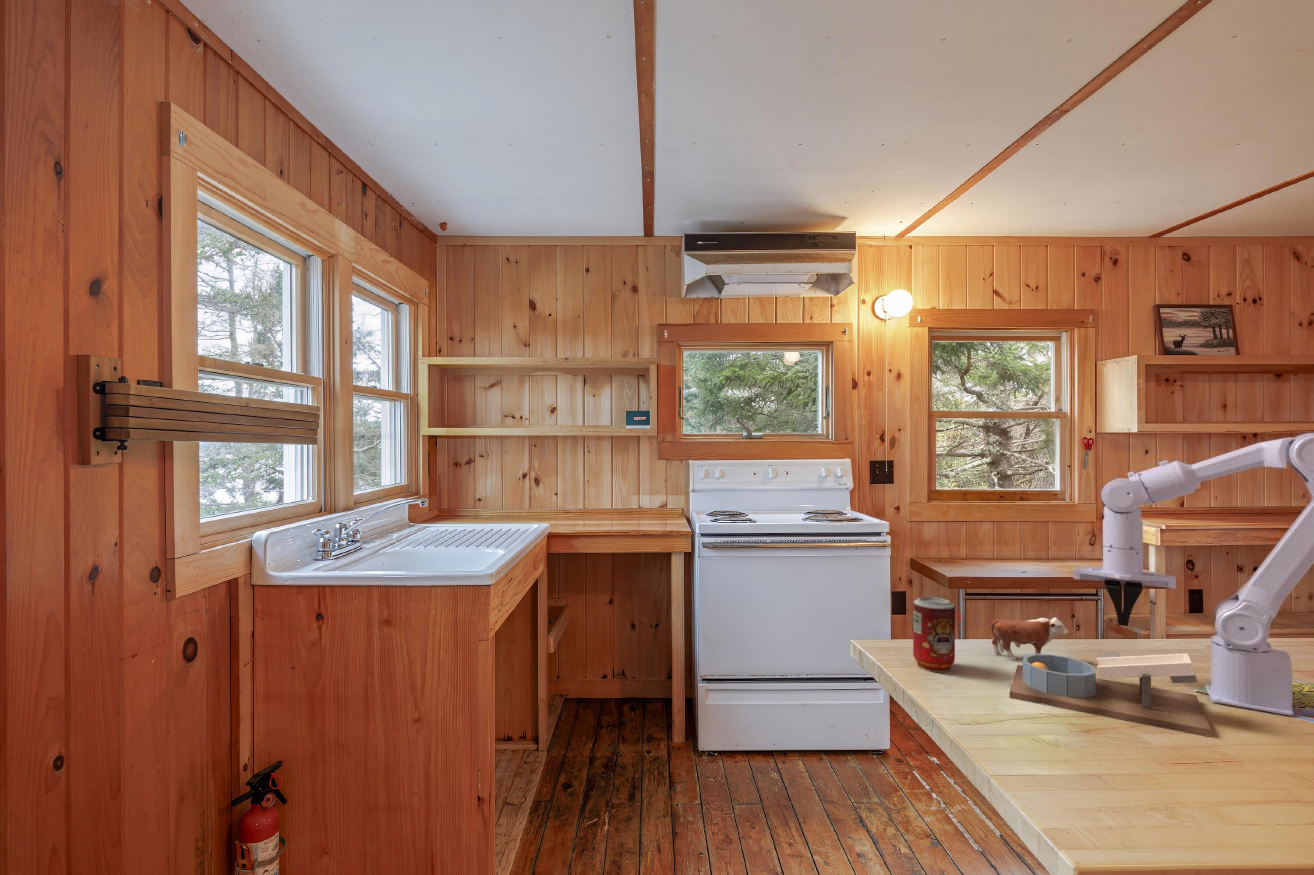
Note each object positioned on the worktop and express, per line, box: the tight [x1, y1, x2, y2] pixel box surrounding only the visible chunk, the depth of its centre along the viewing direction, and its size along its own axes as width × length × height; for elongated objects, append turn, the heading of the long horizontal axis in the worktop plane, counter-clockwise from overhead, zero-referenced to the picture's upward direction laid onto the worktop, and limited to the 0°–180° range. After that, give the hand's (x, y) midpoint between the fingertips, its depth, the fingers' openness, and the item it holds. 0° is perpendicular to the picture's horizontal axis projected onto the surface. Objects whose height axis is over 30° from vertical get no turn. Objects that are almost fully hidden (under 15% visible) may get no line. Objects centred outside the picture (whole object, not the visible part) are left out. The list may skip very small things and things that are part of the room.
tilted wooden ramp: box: [1096, 650, 1198, 684], centre depth 105 cm, size 12×13×3 cm
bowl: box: [1022, 653, 1097, 698], centre depth 108 cm, size 10×10×4 cm
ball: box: [1032, 662, 1049, 671], centre depth 110 cm, size 3×3×3 cm
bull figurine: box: [990, 617, 1070, 661], centre depth 124 cm, size 4×13×8 cm, turn 79°
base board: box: [1009, 664, 1212, 738], centre depth 105 cm, size 25×15×6 cm, turn 57°
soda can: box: [912, 595, 956, 673], centre depth 120 cm, size 7×7×12 cm
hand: (1122, 624), depth 114 cm, fingers closed
